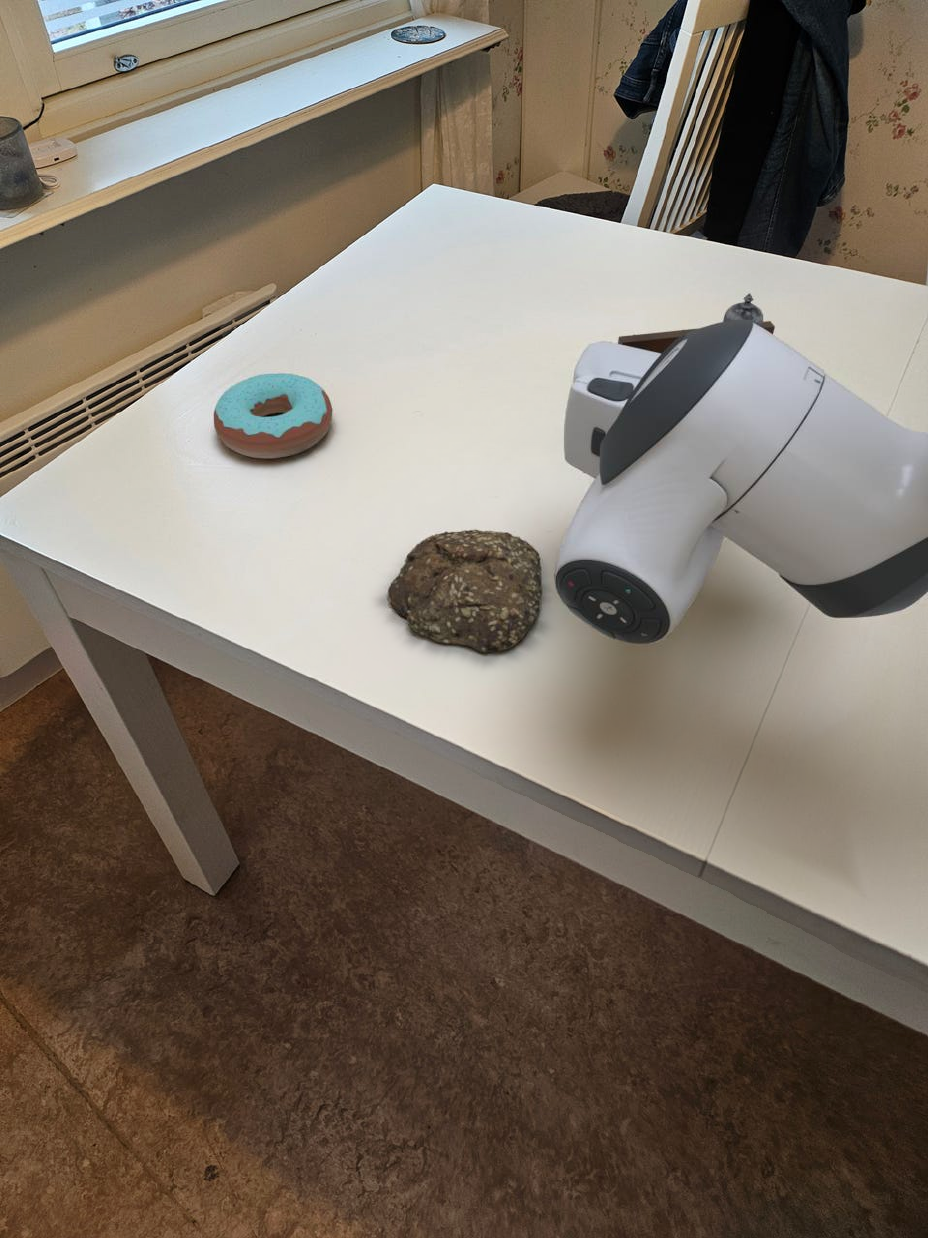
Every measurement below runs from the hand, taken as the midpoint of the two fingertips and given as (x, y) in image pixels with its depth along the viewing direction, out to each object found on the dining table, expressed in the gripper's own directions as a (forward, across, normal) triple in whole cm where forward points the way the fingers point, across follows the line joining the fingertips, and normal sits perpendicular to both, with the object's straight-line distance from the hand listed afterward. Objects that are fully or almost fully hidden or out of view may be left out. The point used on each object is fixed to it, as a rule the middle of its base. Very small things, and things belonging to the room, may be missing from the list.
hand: (735, 356), depth 67 cm
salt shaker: (-1, 0, +7) cm, 7 cm away
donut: (-4, +43, +17) cm, 46 cm away
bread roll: (-17, +15, +17) cm, 28 cm away
